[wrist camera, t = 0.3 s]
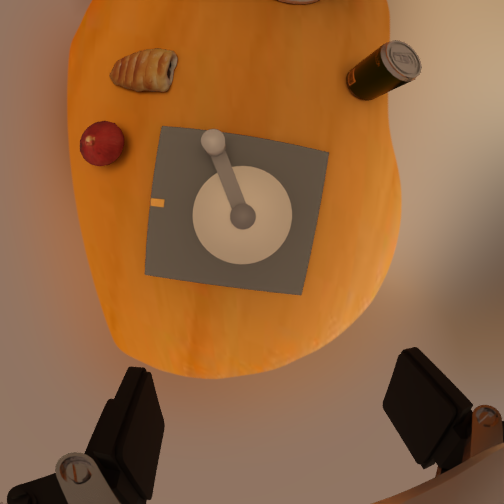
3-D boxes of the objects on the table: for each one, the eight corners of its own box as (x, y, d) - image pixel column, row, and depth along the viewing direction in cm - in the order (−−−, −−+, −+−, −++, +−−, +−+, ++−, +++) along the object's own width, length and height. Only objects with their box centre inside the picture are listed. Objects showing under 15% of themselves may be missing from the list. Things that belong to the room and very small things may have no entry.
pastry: (110, 95, 31) (99, 88, 28) (120, 55, 30) (111, 45, 26) (171, 94, 32) (166, 85, 29) (180, 52, 31) (176, 41, 27)
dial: (300, 240, 37) (316, 253, 30) (216, 273, 37) (213, 293, 31) (256, 121, 33) (263, 107, 26) (167, 156, 33) (153, 150, 26)
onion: (95, 169, 34) (66, 168, 26) (95, 130, 32) (67, 121, 24) (132, 163, 34) (108, 160, 26) (131, 123, 33) (109, 110, 25)
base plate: (163, 127, 33) (161, 125, 32) (326, 153, 36) (329, 152, 35) (146, 272, 38) (144, 275, 37) (299, 292, 40) (301, 295, 39)
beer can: (348, 100, 34) (391, 76, 22) (341, 67, 33) (379, 35, 21) (379, 102, 34) (427, 82, 23) (373, 70, 33) (416, 43, 21)
